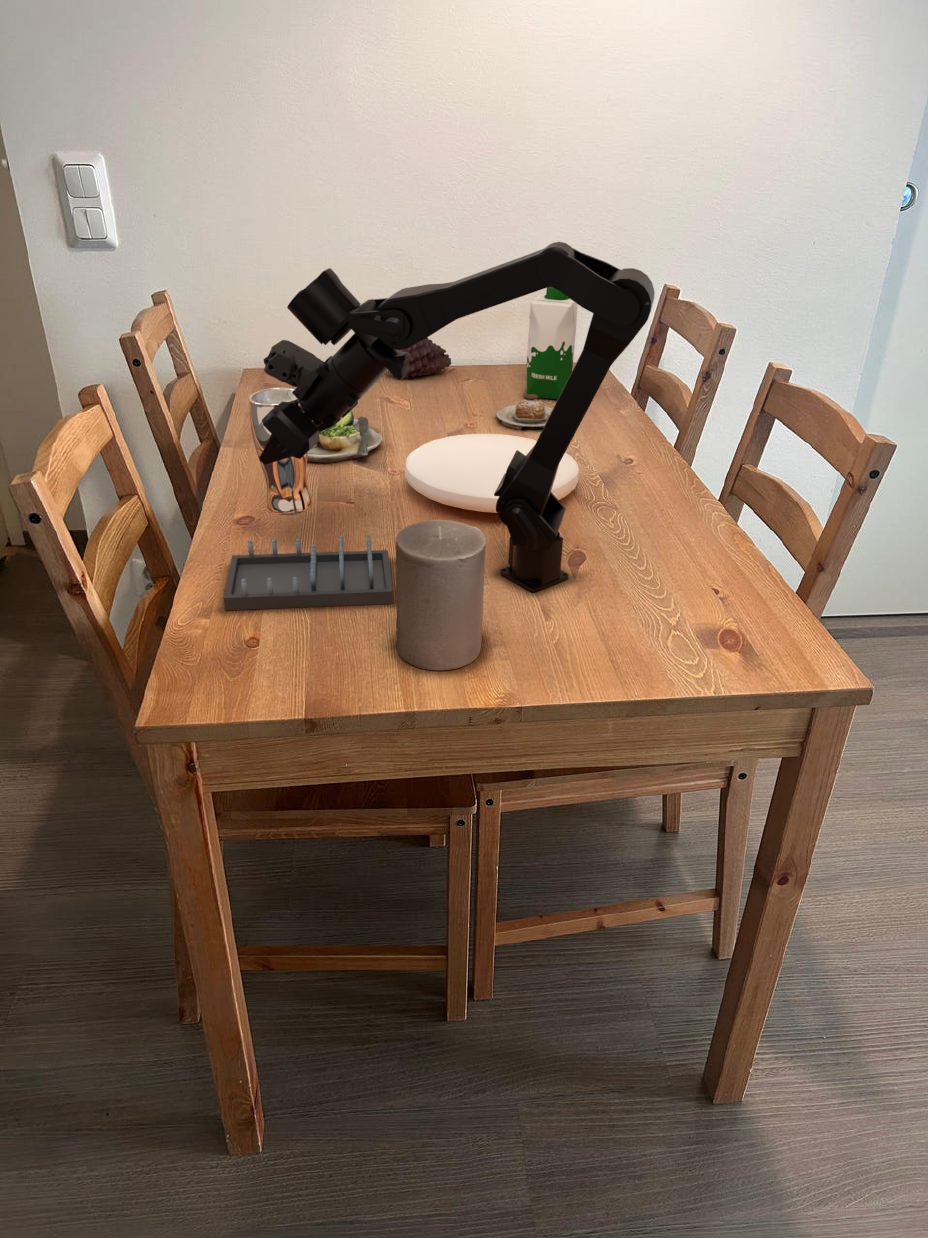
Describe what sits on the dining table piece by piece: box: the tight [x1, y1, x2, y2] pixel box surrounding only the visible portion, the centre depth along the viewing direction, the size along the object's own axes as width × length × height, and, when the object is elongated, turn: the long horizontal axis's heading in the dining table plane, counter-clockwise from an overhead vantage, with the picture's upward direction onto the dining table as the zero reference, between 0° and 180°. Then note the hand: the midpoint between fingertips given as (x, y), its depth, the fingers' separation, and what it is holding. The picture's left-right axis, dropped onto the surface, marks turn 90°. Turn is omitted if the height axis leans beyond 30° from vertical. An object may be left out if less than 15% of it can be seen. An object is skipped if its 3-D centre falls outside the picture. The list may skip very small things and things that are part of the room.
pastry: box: [496, 394, 553, 431], centre depth 170 cm, size 12×12×5 cm
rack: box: [223, 534, 394, 612], centre depth 115 cm, size 20×11×5 cm, turn 97°
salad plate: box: [307, 410, 383, 464], centre depth 156 cm, size 19×18×5 cm
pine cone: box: [388, 337, 452, 379], centre depth 192 cm, size 18×10×10 cm
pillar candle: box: [395, 519, 487, 671], centre depth 101 cm, size 10×10×15 cm
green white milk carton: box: [526, 287, 578, 401], centre depth 180 cm, size 9×9×20 cm
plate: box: [404, 433, 580, 514], centre depth 142 cm, size 28×6×27 cm
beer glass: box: [248, 387, 313, 517], centre depth 119 cm, size 7×7×15 cm
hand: (273, 451), depth 119 cm, fingers closed on beer glass, 7 cm apart
